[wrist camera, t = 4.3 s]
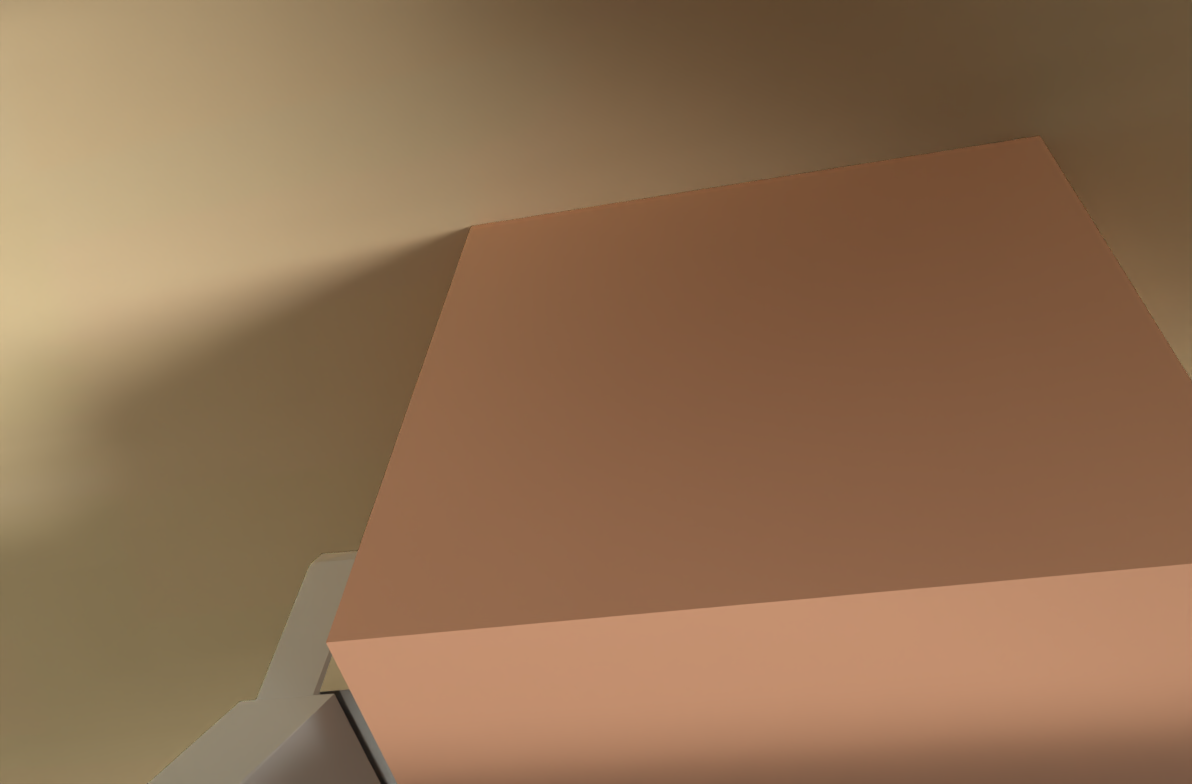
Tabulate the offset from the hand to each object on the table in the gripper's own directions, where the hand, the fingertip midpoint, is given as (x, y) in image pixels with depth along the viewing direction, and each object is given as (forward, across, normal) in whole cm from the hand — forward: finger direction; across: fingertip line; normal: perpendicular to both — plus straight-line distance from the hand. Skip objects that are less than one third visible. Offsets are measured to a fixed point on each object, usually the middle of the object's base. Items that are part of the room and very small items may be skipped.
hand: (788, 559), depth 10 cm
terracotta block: (+2, 0, 0) cm, 2 cm away
